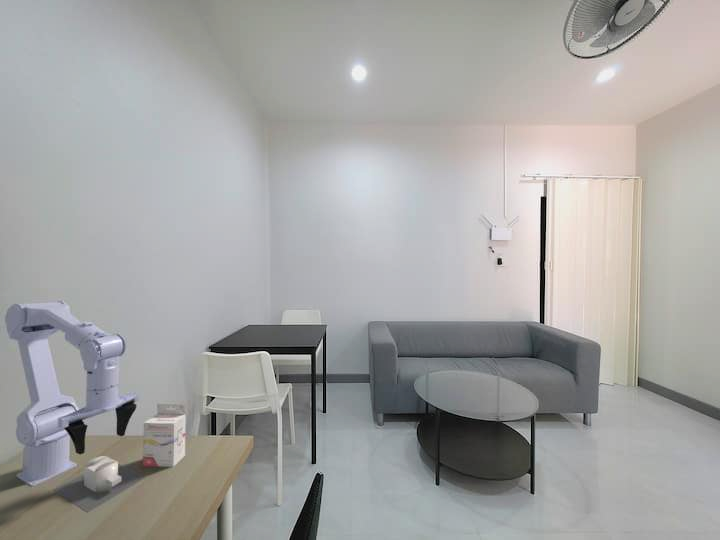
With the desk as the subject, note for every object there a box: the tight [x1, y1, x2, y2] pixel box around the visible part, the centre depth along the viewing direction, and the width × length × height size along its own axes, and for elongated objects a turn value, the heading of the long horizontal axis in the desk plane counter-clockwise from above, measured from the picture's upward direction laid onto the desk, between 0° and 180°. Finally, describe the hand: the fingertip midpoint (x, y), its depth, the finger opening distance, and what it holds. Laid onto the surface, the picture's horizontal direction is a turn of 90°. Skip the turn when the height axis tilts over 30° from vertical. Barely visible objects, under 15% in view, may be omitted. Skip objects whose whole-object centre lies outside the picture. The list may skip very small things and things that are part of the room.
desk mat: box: [52, 463, 147, 513], centre depth 65 cm, size 16×11×1 cm
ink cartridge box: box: [142, 402, 187, 468], centre depth 73 cm, size 9×5×15 cm, turn 88°
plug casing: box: [83, 455, 122, 493], centre depth 65 cm, size 11×4×4 cm, turn 66°
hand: (101, 443), depth 65 cm, fingers open, 7 cm apart
